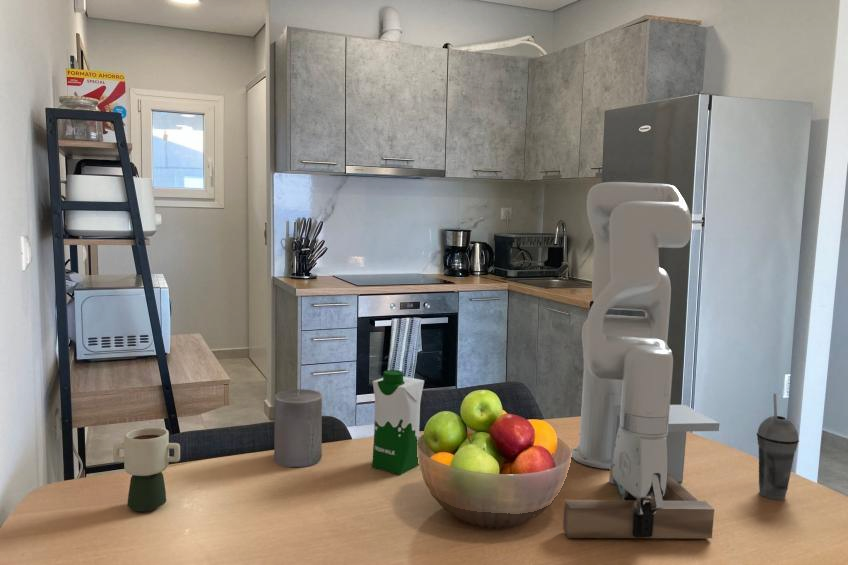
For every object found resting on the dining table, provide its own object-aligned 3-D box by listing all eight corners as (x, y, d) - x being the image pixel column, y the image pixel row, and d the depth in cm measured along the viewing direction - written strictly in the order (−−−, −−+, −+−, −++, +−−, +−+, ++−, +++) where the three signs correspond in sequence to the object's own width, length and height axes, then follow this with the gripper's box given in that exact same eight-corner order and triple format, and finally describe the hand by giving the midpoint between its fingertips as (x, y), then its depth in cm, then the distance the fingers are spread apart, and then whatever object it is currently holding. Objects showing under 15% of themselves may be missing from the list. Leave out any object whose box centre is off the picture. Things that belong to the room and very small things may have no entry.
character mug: (184, 497, 122) (184, 426, 121) (175, 515, 115) (175, 439, 114) (120, 498, 121) (119, 426, 119) (106, 516, 114) (106, 440, 112)
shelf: (609, 481, 137) (614, 405, 136) (678, 479, 140) (684, 404, 138) (637, 506, 125) (643, 424, 124) (712, 504, 128) (719, 423, 126)
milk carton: (365, 467, 139) (368, 370, 137) (391, 455, 147) (394, 363, 145) (401, 477, 135) (404, 378, 133) (425, 464, 142) (429, 369, 140)
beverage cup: (798, 505, 129) (808, 400, 127) (757, 500, 130) (766, 397, 128) (786, 489, 136) (795, 391, 134) (747, 485, 137) (755, 388, 135)
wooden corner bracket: (538, 485, 132) (539, 460, 131) (659, 486, 134) (661, 462, 133) (568, 537, 111) (570, 508, 111) (711, 538, 113) (714, 509, 112)
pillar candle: (298, 448, 149) (298, 380, 148) (331, 458, 144) (332, 388, 142) (263, 460, 141) (263, 389, 140) (297, 472, 136) (297, 398, 134)
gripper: (600, 407, 119) (593, 509, 121) (647, 439, 103) (639, 556, 105) (640, 407, 120) (633, 508, 122) (693, 438, 104) (684, 554, 106)
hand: (636, 529), depth 113 cm, fingers closed on wooden corner bracket, 3 cm apart
